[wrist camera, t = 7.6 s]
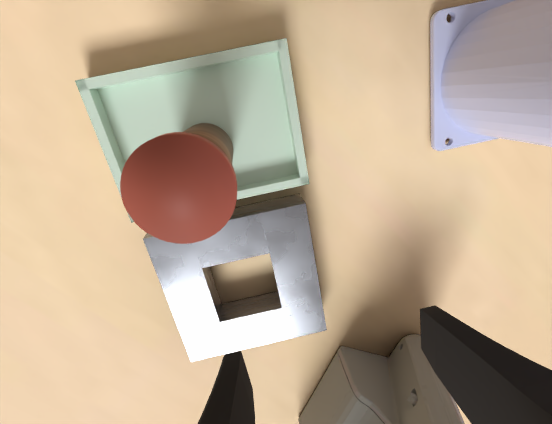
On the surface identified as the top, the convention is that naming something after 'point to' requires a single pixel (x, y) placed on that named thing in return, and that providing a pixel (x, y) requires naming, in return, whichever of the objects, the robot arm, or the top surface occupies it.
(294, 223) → the socket plate
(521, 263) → the top surface
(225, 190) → the pin
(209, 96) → the tray
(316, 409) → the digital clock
